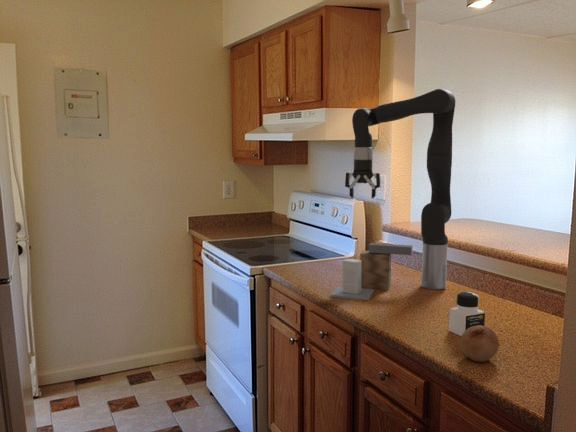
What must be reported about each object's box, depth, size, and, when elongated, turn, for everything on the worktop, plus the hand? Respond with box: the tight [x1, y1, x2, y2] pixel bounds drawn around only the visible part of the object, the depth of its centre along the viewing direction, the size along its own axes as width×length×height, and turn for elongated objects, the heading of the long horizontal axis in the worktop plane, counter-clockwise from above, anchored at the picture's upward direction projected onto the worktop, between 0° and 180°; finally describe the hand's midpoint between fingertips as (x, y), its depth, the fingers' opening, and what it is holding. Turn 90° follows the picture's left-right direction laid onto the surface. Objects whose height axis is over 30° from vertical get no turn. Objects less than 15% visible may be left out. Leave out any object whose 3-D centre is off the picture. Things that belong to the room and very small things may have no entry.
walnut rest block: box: [359, 250, 392, 291], centre depth 206 cm, size 11×6×14 cm, turn 72°
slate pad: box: [329, 286, 375, 301], centre depth 197 cm, size 14×12×1 cm
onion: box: [459, 325, 500, 363], centre depth 137 cm, size 10×9×10 cm
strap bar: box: [368, 242, 414, 256], centre depth 203 cm, size 16×4×3 cm, turn 72°
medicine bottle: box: [448, 291, 486, 337], centre depth 156 cm, size 7×7×12 cm
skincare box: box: [342, 258, 362, 294], centre depth 196 cm, size 6×4×12 cm
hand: (362, 197), depth 220 cm, fingers open, 8 cm apart
